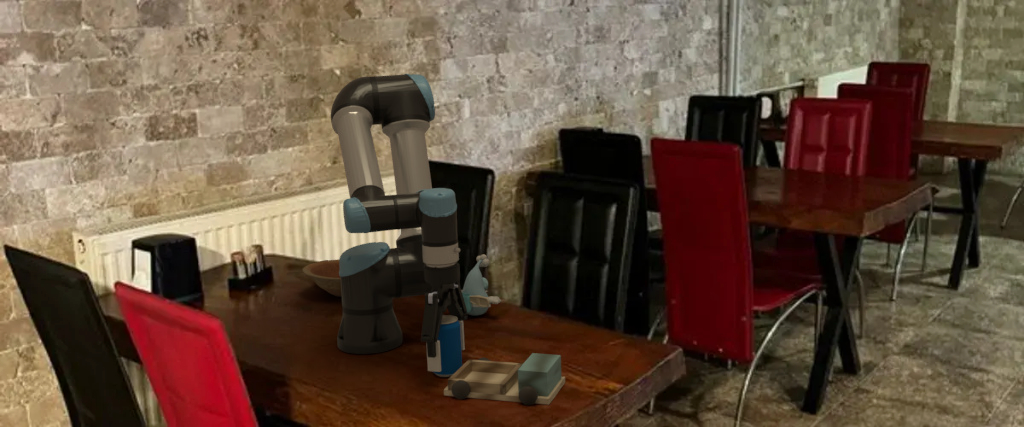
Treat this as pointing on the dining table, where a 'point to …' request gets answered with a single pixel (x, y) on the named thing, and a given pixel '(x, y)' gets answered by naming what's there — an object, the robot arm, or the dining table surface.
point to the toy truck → (509, 380)
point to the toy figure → (477, 290)
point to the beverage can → (449, 346)
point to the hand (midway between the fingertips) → (446, 360)
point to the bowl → (325, 275)
